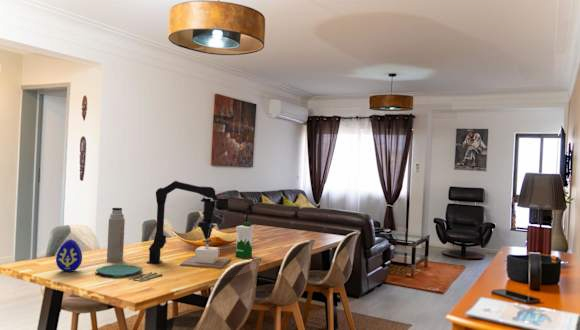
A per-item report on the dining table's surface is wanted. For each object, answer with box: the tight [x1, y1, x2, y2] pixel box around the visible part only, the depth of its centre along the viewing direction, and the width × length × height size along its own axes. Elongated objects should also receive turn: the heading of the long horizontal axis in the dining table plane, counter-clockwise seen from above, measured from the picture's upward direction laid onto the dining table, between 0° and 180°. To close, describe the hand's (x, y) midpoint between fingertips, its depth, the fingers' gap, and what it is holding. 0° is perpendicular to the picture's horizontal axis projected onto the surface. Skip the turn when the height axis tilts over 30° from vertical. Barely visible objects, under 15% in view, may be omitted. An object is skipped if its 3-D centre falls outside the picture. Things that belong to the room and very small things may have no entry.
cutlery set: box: [94, 263, 163, 283], centre depth 220 cm, size 20×30×2 cm, turn 64°
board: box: [179, 255, 232, 269], centre depth 253 cm, size 22×22×1 cm
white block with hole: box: [194, 245, 219, 263], centre depth 253 cm, size 10×10×7 cm
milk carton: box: [234, 221, 255, 259], centre depth 274 cm, size 9×9×20 cm
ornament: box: [55, 239, 83, 273], centre depth 221 cm, size 11×9×15 cm
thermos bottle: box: [106, 207, 126, 263], centre depth 248 cm, size 8×8×28 cm
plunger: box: [202, 238, 213, 249], centre depth 253 cm, size 5×5×7 cm
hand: (207, 238), depth 253 cm, fingers open, 4 cm apart
